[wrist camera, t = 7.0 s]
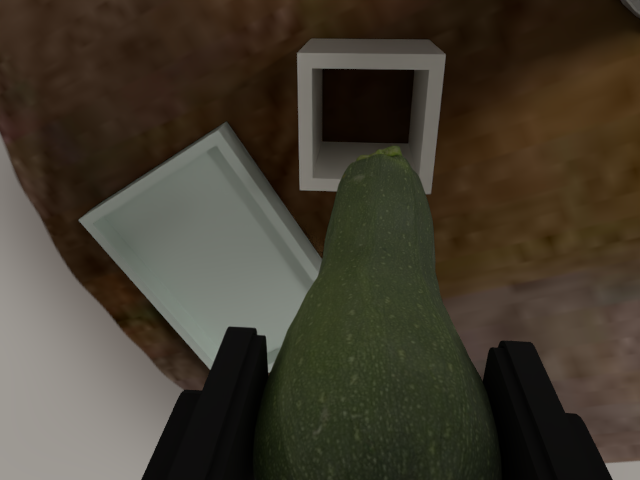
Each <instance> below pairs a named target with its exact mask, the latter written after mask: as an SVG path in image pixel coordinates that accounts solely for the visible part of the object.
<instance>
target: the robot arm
mask: <svg viewBox="0 0 640 480" xmlns="http://www.w3.org/2000/svg"><path fill="white" fill-rule="evenodd" d="M621 2H622V4H623V5H625V6H626V7H627V8H628V9H629V10H630V11H631V12H632V13H633V14H634V15H635V16H637V17H639V18H640V0H621ZM267 380H268V360H267V342H266V336H265V335H257V330H256V328H251V327H231V326H229V327H228V328H227V330H226V332H225V335H224V337H223V340H222V342H221V345H220V347H219V350H218V352H217V355H216V357H215V360H214V362H213V365H212V367H211V370H210V372H209V375H208V377H207V380H206V382H205V385H204V387H203V390H202V391H199V390H184V391H183V392H182V393H181V394H180V396H179V398H178V400H177V402H176V404H175V406H174V408H173V411H172V413H171V415H170V417H169V420H168V422H167V424H166V426H165V428H164V431H163V433H162V435H161V437H160V439H159V442H158V444H157V446H156V448H155V451H154V453H153V455H152V457H151V459H150V462H149V464H148V466H147V469H146V470H145V473H144V475H143V477H142V479H141V480H255V479H254V473H253V446H254V433H255V426H256V420H257V415H258V411H259V406H260V402H261V399H262V395H263V391H264V388H265V385H266V382H267ZM483 384H484V387H485V389H486V391H487V394H488V398H489V401H490V405H491V409H492V413H493V416H494V420H495V424H496V428H497V432H498V439H499V446H500V454H501V464H502V480H613V479H612V478H611V476H610V474H609V472H608V470H607V467H606V465H605V463H604V461H603V459H602V457H601V455H600V453H599V451H598V449H597V447H596V445H595V443H594V441H593V439H592V437H591V435H590V433H589V431H588V429H587V427H586V425H585V423H584V422H583V420H582V419H581V417H580V416H578V415H577V414H573V413H565V411H564V409H563V407H562V405H561V403H560V401H559V398H558V396H557V394H556V392H555V390H554V388H553V385H552V383H551V381H550V379H549V377H548V375H547V372H546V370H545V368H544V366H543V364H542V362H541V359H540V357H539V355H538V353H537V351H536V349H535V347H534V345H533V343H531V342H520V341H501V342H500V343H499V346H498V348H493V347H492V348H490V350H489V353H488V357H487V363H486V368H485V373H484V378H483Z"/></svg>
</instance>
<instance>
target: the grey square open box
mask: <svg viewBox="0 0 640 480" xmlns="http://www.w3.org/2000/svg"><path fill="white" fill-rule="evenodd" d="M445 59H446V54H445V53H444V52H443V51H441V50H440V49H439V48H438V47H437V46H436V45H435V44H433V43H432V42H431V41H430V40H422V39H310V40H309V41H308V42H307V43H306V44H305V45H304V46H303V47H302V48H301V49H300V50H299V51H298V52H297V74H298V128H299V182H300V190H309V191H337V189H338V185H339V183H340V180H341V178H342V176H343V174H344V172H345V170H346V169H347V167H348V166H349V165H350V164H351V163H352V162H355V161H356V159H357V158H358V157H359V156H360V155H370V154H372V153H375V152H376V151H377V150H378V149H381V150H383V149H385V148H388V147H390V146H399V147H400V150H401V153H402V156H403V157H405V158H406V159H407V161H408V162H409V164H410V165H411V167H412V169H413V170H414V171H415V172H416V173H417V174H418V176H419V178H420V180H421V182H422V185H423V188H424V191H425V194H431V188H432V179H433V170H434V161H435V151H436V142H437V133H438V124H439V114H440V105H441V96H442V87H443V77H444V68H445ZM322 69H398V70H414V81H413V93H412V105H411V118H410V130H409V142H408V144H405V143H361V142H322Z"/></svg>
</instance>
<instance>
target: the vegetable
mask: <svg viewBox="0 0 640 480" xmlns="http://www.w3.org/2000/svg"><path fill="white" fill-rule="evenodd" d="M253 473H254V479H255V480H502V464H501V454H500V446H499V439H498V432H497V428H496V424H495V420H494V416H493V413H492V409H491V405H490V401H489V398H488V394H487V391H486V389H485V387H484V384H483V382H482V379H481V377H480V375H479V374H478V372H477V370H476V368H475V367H474V365H473V363H472V361H471V359H470V358H469V356H468V354H467V351H466V349H465V347H464V345H463V343H462V341H461V339H460V337H459V335H458V333H457V332H456V329H455V327H454V325H453V323H452V321H451V319H450V317H449V314H448V312H447V310H446V308H445V306H444V305H443V302H442V299H441V296H440V293H439V285H438V281H437V277H436V273H435V248H434V231H433V221H432V217H431V212H430V208H429V204H428V201H427V198H426V194H425V191H424V188H423V185H422V182H421V180H420V178H419V176H418V174H417V173H416V172H415V171H414V170H413V169H412V167H411V165H410V164H409V162H408V161H407V159H406V158H405V157H403V156H402V153H401V150H400V147H399V146H390V147H388V148H385V149H383V150H381V149H378V150H377V151H376V152H375V153H372V154H370V155H360V156H359V157H358V158H357V159H356V161H355V162H352V163H351V164H350V165H349V166H348V167H347V169H346V170H345V172H344V174H343V176H342V178H341V180H340V183H339V185H338V189H337V193H336V198H335V202H334V206H333V210H332V214H331V218H330V221H329V225H328V228H327V233H326V238H325V244H324V252H323V258H322V262H321V266H320V270H319V274H318V277H317V279H316V280H315V281H314V283H313V285H312V286H311V288H310V289H309V291H308V292H307V294H306V296H305V298H304V300H303V302H302V304H301V306H300V308H299V310H298V312H297V314H296V316H295V318H294V319H293V321H292V323H291V325H290V327H289V328H288V330H287V333H286V335H285V338H284V341H283V343H282V346H281V349H280V351H279V353H278V355H277V357H276V360H275V362H274V364H273V367H272V369H271V372H270V375H269V377H268V380H267V382H266V385H265V388H264V391H263V395H262V399H261V402H260V406H259V411H258V415H257V420H256V426H255V433H254V446H253Z"/></svg>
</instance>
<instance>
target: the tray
mask: <svg viewBox="0 0 640 480" xmlns="http://www.w3.org/2000/svg"><path fill="white" fill-rule="evenodd" d="M79 221H80V223H81V224H82V225H83V226H84V227H85V228H86V229H87V231H88V232H89V233H90V234H91V235H92V236H93V237H94V239H95V240H96V241H97V242H98V243H99V244H100V245H101V246H102V248H103V249H104V250H105V251H106V252H107V253H108V254H109V256H110V257H111V258H112V259H113V260H114V261H115V262H116V263H117V265H118V266H119V267H120V268H121V269H122V270H123V271H124V273H125V274H126V275H127V276H128V277H129V278H130V279H131V280H132V282H133V283H134V284H135V285H136V286H137V287H138V288H139V290H140V291H141V292H142V293H143V294H144V295H145V296H146V298H147V299H148V300H149V301H150V302H151V303H152V304H153V305H154V307H155V308H156V309H157V310H158V311H159V312H160V313H161V315H162V316H163V317H164V318H165V319H166V320H167V321H168V322H169V324H170V325H171V326H172V327H173V328H174V329H175V330H176V332H177V333H178V334H179V335H180V336H181V337H182V338H183V339H184V341H185V342H186V343H187V344H188V345H189V346H190V347H191V349H192V350H193V351H194V352H195V353H196V354H197V355H198V357H199V358H200V359H201V360H202V361H203V362H204V363H205V364H206V366H207V367H208V368H209V369H210V370H211V367H212V365H213V362H214V360H215V357H216V355H217V352H218V350H219V347H220V345H221V342H222V340H223V337H224V335H225V332H226V330H227V328H228V327H229V326H231V327H251V328H256V330H257V335H265V336H266V342H267V360H268V373H269V372H271V369H272V367H273V364H274V362H275V360H276V357H277V355H278V353H279V351H280V349H281V346H282V343H283V341H284V338H285V335H286V333H287V330H288V328H289V327H290V325H291V323H292V321H293V319H294V318H295V316H296V314H297V312H298V310H299V308H300V306H301V304H302V302H303V300H304V298H305V296H306V294H307V292H308V291H309V289H310V288H311V286H312V285H313V283H314V281H315V280H316V279H317V277H318V274H319V270H320V266H321V262H322V258H321V257H320V256H319V254H318V253H317V251H316V250H315V248H314V247H313V245H312V244H311V242H310V241H309V240H308V238H307V237H306V235H305V234H304V232H303V231H302V229H301V228H300V227H299V225H298V224H297V222H296V221H295V219H294V218H293V216H292V215H291V214H290V212H289V211H288V209H287V208H286V206H285V205H284V203H283V202H282V201H281V199H280V198H279V196H278V195H277V193H276V192H275V190H274V189H273V187H272V186H271V185H270V183H269V182H268V180H267V179H266V177H265V176H264V174H263V173H262V172H261V170H260V169H259V167H258V166H257V164H256V163H255V161H254V160H253V159H252V157H251V156H250V154H249V153H248V151H247V150H246V148H245V147H244V146H243V144H242V143H241V141H240V140H239V138H238V137H237V135H236V134H235V132H234V131H233V130H232V128H231V127H230V125H229V124H228V122H227V121H226V122H225V123H223V124H222V125H220V126H219V127H217V128H215V129H214V130H212V131H211V132H209V133H208V134H206V135H205V136H203V137H202V138H200V139H198V140H197V141H195V142H194V143H192V144H191V145H189V146H188V147H186V148H185V149H183V150H181V151H180V152H178V153H177V154H175V155H174V156H172V157H171V158H169V159H168V160H166V161H164V162H163V163H161V164H160V165H158V166H157V167H155V168H154V169H152V170H151V171H149V172H147V173H146V174H144V175H143V176H141V177H140V178H138V179H137V180H135V181H134V182H132V183H130V184H129V185H127V186H126V187H124V188H123V189H121V190H120V191H118V192H117V193H115V194H114V195H112V196H110V197H109V198H107V199H106V200H104V201H103V202H101V203H100V204H98V205H97V206H95V207H93V208H92V209H91V210H90V211H89V212H87V213H86V214H85V215H84V216H83V217H81V218H80V219H79Z"/></svg>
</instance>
